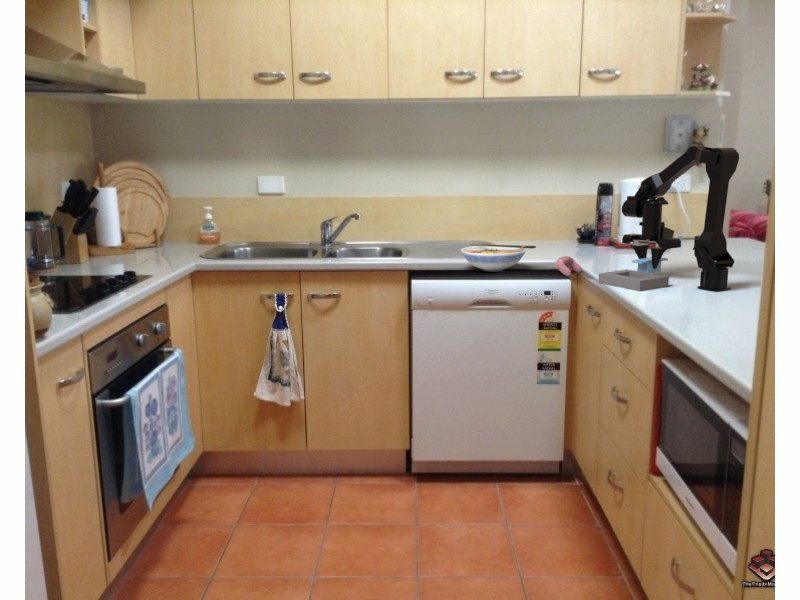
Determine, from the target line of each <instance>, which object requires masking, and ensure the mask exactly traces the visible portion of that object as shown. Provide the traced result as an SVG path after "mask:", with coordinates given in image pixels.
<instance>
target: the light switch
mask: <svg viewBox="0 0 800 600" xmlns="http://www.w3.org/2000/svg"><path fill="white" fill-rule="evenodd" d="M669 279H670V276H669V275H664V274H663V275H662V274H655V273H652V272H651V273H645V272H639V271H638V270H633V269H621V270H613V271H606V272H599V273H598V284H603V285H607V286H613V287H617V288H618V287H619V288H622V289H623V288H624V289H627V290H632V291H638V292H643V291H649V290H655V289H662V288H667V287H668V288H669V284H670V283H669V282H670V280H669ZM661 287H662V288H661Z"/></svg>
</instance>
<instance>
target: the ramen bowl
mask: <svg viewBox="0 0 800 600" xmlns="http://www.w3.org/2000/svg"><path fill="white" fill-rule="evenodd" d="M536 248H537V246H536V245H514V244H513V245H511V244H506V245H504V244H498V245H497V244H478V245H474V244H473V243H471V244H469V246H466V247H463V248H461V249H460V252H461V253H462V255H463V256H464V258H465V259H466V261H467V262H468V263H469V265H471V266H473V267H475V268H478V269H481V270H482V271H484V272H491V273H494V272H503V271H505V270H506V269H509V268H511V267H513V266H514V265H516V264H517V263H519V262H520V261H521V260H522V258H523V257H524V255H525V254H526V251H527V249H536Z"/></svg>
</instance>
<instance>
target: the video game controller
mask: <svg viewBox="0 0 800 600" xmlns="http://www.w3.org/2000/svg"><path fill="white" fill-rule="evenodd" d="M554 263H555V268H556V269H557V270H558V271H560V272H561V274H563V275H564V276H565V277H566V276H567V277H569V276H571V275H572V270H573V271H575V272H576V273H581V272H582V266H581V265H580V264H579V263H577V261H576V260H574V258H573V257H571V256H566V255H565V256H561V257H559V258H558V259H557V260H556V261H554Z"/></svg>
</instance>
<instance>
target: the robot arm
mask: <svg viewBox="0 0 800 600" xmlns="http://www.w3.org/2000/svg"><path fill="white" fill-rule="evenodd" d="M739 159H740V153H739V152H738V151H737V149H735V148H734V147H709V146H705V145H691V146H690V147H688V148H687V150H686V151H685V152H683V153H682V154H681V155H680V156H679V157H677V158H676V159H675V160H674V161H672V162H671V163H670V164H668V165H667V166H666V167H665V168H664V169H662V170H661V171H660V172H657V173H655V174H652V175H650V176H649V177H646V178H644V179H643V180H642V181H641V182H640V186H639V188H638V190H637V191H636V192H635V194H634V195H627V196H626V200H624V202H623V203H622V206H621V213H622V215H623V216H624V217H626V218H636V219H642V220H641V221H639V223H638V226H641V234H640V233H628V234H624V235H623V236H622V238H621V243H622V244H624V245H625V244H626V245H630V244H631V245H630V248H632V249H633V250H634V252H635V254H636V256H637V259H642V258H648V257H647V255H648V249H649V247H650V245H655V246H654V247H650V251H651V252H650V253H651V254H650V255H651V257H652V265H653V269H656V268H657V266H658V264H659V262H660V259H661V258H663V257H662V256H664V254H665V252H666V251H667V250H670V249H678V248H681V247H682V240H681V239H680V238H679V237H674V234H675V230H673V229H671V228H669V227H665V226H666V225H665V224H666V223H665V221H662V219H663V218H662V217H663V206H664V205H669V202H668V200H666V199H665V197H664V196H665V195H666V194H667V193H668V192H669V190H671V188H672V186H673V183H674V182H675V181H676V180H678V178H680V177H681V176H683V175H684V174H685V173H687V172H688V171H689V170H690V169H692V168H694V166H696V165H697V164H698V163H700V164H705V165H704V166H705V167H704V168H705V172H706V174H707V176H708V178H709V184H708V193H707V201H706V208H705V216H704V224H703V225H704V226H703V231H702V233H701V234H700V235H695V236H694V241H693V242H694V244H693V248H692V251H693V252H694V253H693V254H694V257H695V259H696V262H697V266H698V269H701V271H700V276H699V277H700V279H699V285H697V287H696V288H697V289H700V290H705V291H706V290H707V291H711V292H721V291H726V290H727V291H728V290H731V287H730V286H728V281H729V270H730V269H729V268H733V266H734V264H735V259H734V258H733V257H732V255H731V254H730V252H729V251H728V249H727V247H728V245H727V243H728V241H727V239H726V235H725V234H724V231H723V230H724V224H725V223H724V222H725V214H726V208H727V201H728V200H727V199H728V194H729V193H728V191H729V185H730V184H729V183H730V180H731V179H732V177H733V175H734V174H735V172H736V171H737V169H738V164H739Z"/></svg>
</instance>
